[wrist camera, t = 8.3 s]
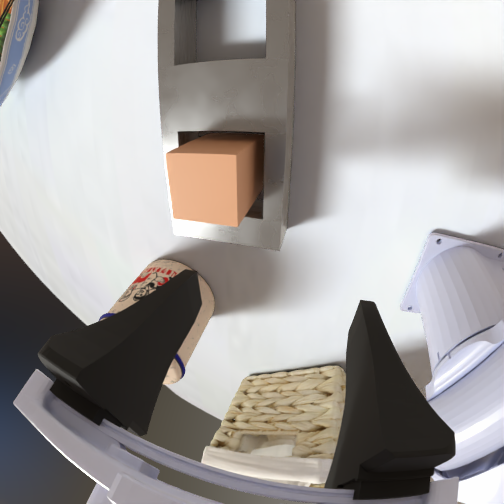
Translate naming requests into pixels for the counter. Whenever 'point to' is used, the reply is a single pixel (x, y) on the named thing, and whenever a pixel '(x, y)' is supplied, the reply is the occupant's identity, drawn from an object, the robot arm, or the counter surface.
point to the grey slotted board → (232, 111)
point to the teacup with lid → (151, 281)
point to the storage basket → (282, 427)
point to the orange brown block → (216, 177)
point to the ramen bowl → (15, 39)
